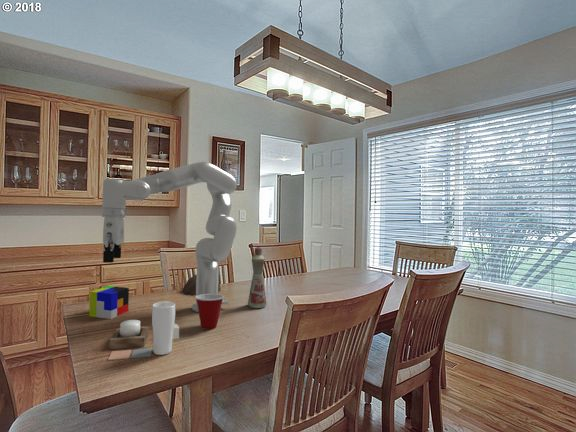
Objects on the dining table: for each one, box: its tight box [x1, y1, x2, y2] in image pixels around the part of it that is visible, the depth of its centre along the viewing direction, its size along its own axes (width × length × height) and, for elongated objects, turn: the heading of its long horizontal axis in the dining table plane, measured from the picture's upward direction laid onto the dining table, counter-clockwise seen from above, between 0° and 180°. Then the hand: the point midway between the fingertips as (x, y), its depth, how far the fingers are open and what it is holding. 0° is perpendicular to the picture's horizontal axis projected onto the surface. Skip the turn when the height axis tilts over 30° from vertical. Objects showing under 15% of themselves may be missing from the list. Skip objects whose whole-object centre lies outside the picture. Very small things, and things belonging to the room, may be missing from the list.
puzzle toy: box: [88, 285, 130, 320], centre depth 133 cm, size 10×10×10 cm
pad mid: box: [129, 347, 154, 360], centre depth 99 cm, size 6×6×1 cm
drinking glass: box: [151, 300, 176, 356], centre depth 101 cm, size 7×7×15 cm
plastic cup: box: [195, 293, 225, 330], centre depth 123 cm, size 11×11×12 cm
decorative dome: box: [182, 274, 222, 296], centre depth 174 cm, size 19×20×10 cm
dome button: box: [119, 319, 141, 337], centre depth 107 cm, size 6×6×4 cm
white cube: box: [172, 323, 180, 341], centre depth 112 cm, size 4×4×4 cm
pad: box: [107, 349, 133, 361], centre depth 97 cm, size 6×6×1 cm
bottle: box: [247, 246, 267, 309], centre depth 151 cm, size 9×9×28 cm
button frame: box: [109, 325, 149, 350], centre depth 107 cm, size 10×10×3 cm
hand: (112, 260), depth 117 cm, fingers open, 9 cm apart
